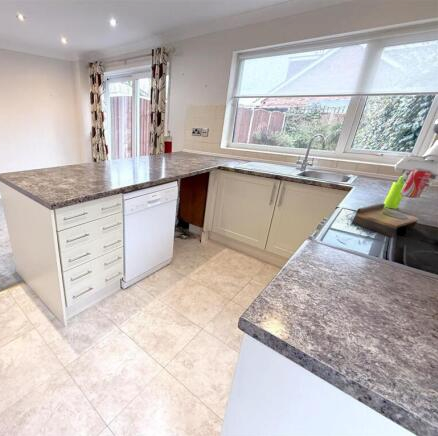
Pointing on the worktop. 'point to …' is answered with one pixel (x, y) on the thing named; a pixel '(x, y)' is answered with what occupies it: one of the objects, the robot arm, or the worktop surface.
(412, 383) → the worktop surface
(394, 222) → the shelf
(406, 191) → the beverage can
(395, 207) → the soap dispenser
